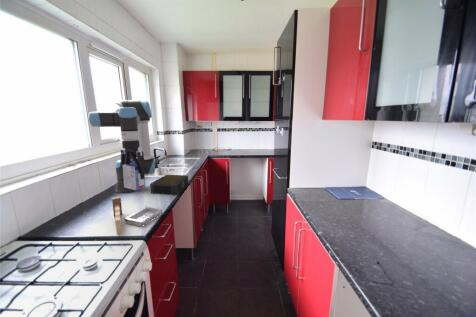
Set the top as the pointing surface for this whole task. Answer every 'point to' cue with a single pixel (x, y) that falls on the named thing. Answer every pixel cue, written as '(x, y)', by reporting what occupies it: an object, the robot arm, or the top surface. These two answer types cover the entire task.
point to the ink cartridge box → (131, 176)
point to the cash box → (169, 184)
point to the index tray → (143, 216)
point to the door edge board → (117, 213)
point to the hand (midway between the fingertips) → (134, 183)
